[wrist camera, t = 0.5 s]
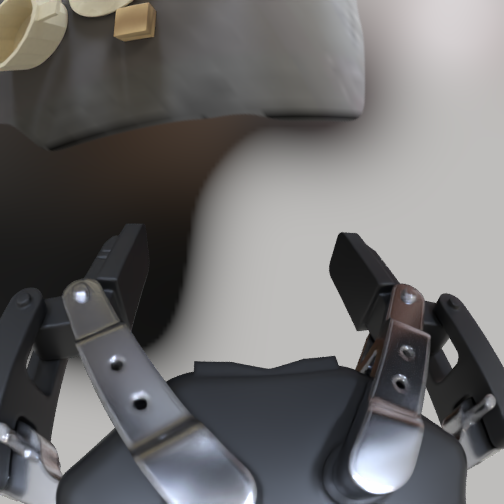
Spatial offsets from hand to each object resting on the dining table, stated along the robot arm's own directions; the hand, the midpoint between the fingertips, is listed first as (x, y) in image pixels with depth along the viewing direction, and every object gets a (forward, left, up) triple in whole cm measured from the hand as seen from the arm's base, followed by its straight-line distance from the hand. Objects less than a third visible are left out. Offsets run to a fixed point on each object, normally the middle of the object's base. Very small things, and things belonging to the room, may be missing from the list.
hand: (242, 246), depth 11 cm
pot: (-21, -29, -26) cm, 44 cm away
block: (-17, -12, -26) cm, 33 cm away
